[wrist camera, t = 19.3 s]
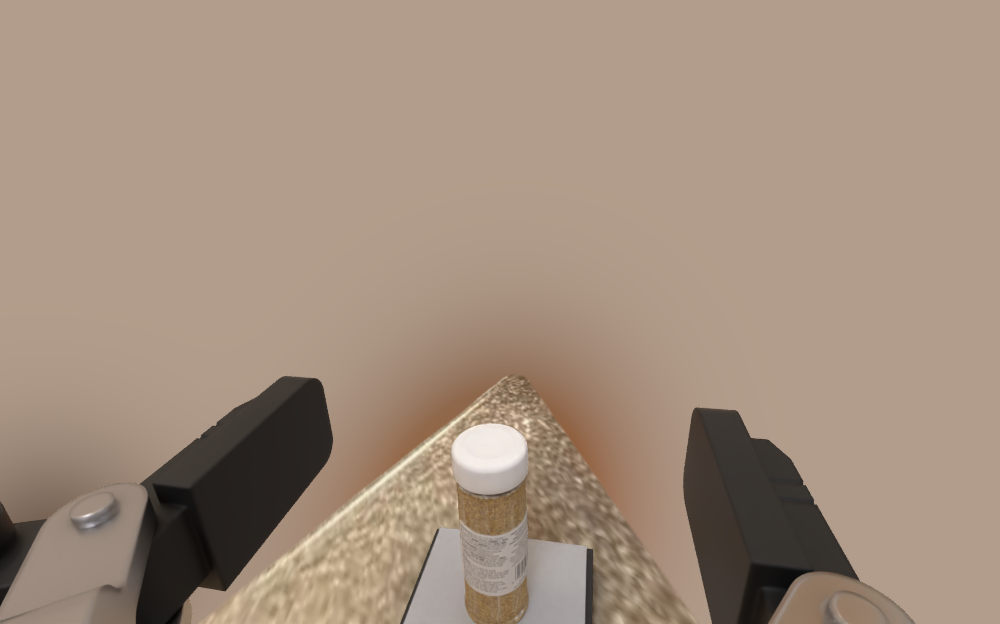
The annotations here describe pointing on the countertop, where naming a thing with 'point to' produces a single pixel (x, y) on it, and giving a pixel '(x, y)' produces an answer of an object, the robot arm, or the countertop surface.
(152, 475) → the robot arm
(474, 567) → the sprinkles bottle
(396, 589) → the countertop surface
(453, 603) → the kitchen scale
